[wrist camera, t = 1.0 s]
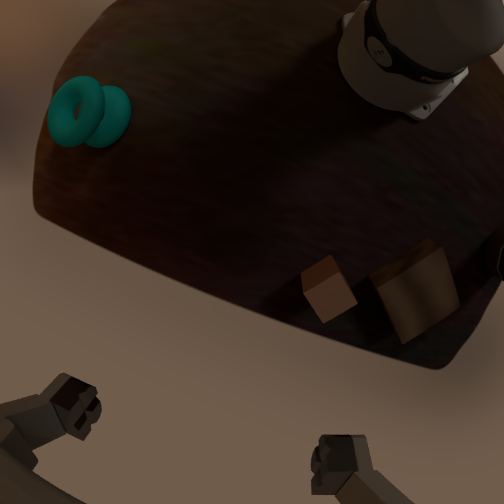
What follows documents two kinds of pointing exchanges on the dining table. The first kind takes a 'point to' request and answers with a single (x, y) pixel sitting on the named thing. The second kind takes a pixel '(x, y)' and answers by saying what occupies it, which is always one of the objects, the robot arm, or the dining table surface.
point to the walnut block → (416, 289)
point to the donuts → (88, 113)
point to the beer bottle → (495, 254)
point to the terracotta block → (327, 289)
